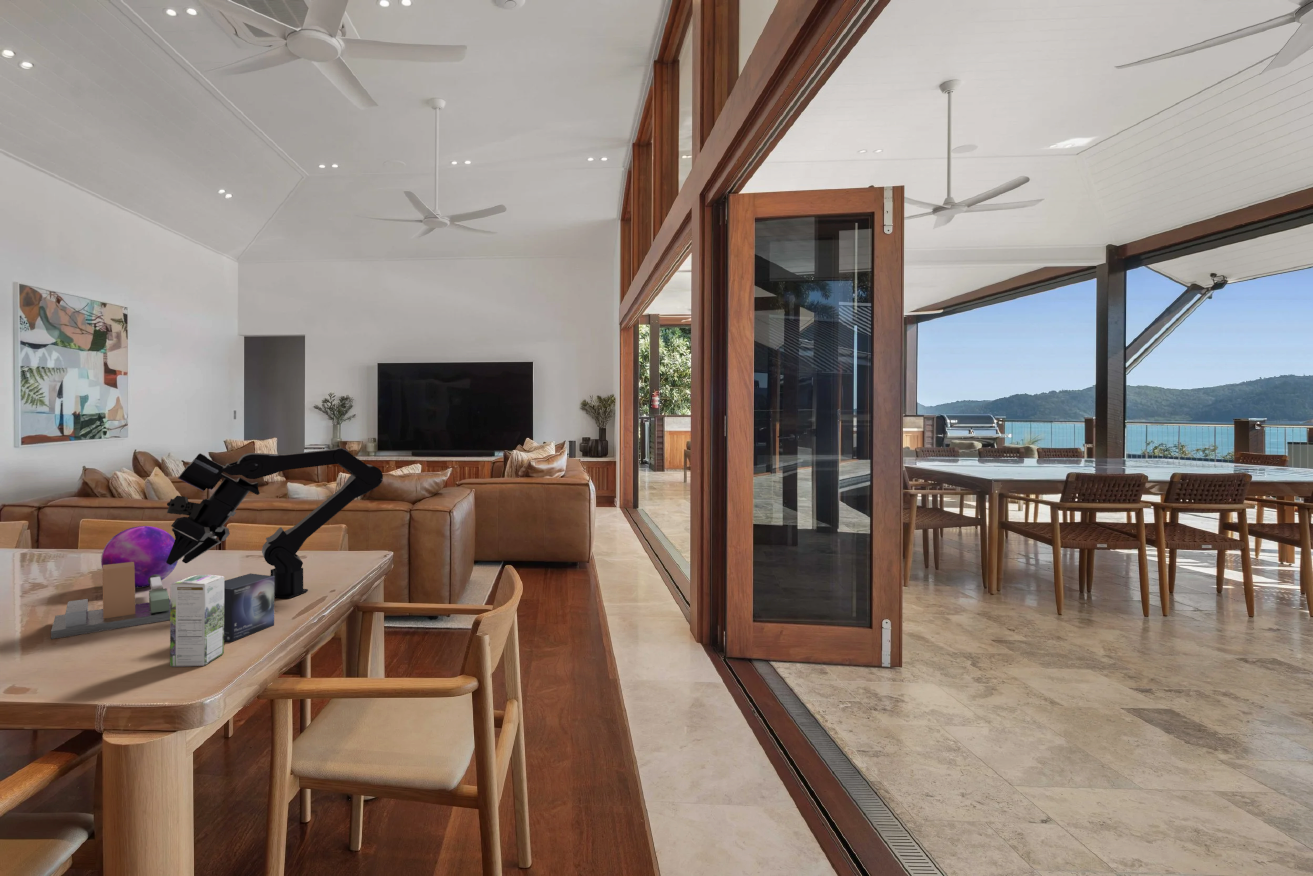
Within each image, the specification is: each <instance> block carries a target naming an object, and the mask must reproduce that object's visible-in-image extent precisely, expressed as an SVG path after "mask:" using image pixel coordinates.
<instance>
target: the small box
mask: <svg viewBox="0 0 1313 876" xmlns="http://www.w3.org/2000/svg"><path fill="white" fill-rule="evenodd" d="M274 577H275V576H270V575H268V574H266V575H265V574H259V573H258V574H257V573H251V572H250V573H247V574H243V575H239V576H237V577H233V578H229V579H226V580H225V579H224V642H228V643H233V642H235V641H238V640H240V639H242V638H246V637H248V636H250V635H252V634H253V635H254V634H256V633H257V632H260V631H263V630H265V629H268V628H270V627H273V626H275V597H274Z"/></svg>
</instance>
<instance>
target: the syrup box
mask: <svg viewBox="0 0 1313 876" xmlns="http://www.w3.org/2000/svg"><path fill="white" fill-rule="evenodd" d="M224 581H225V576H223V575H215V574H197V575H191V576H189V577H186V578H183V579H180V580H178V581H175V582H173V583H171V584H170V596H169V599H170V620H169V621H170V624H169V625H170V626H169V627H170V628H169V634H170V635H169V637H170V638H169V639H170V640H169V663H170V664H169V665H170V667H197V666H198V667H201V666H202V667H203V666H206V665H208V664H210V663H211V662H213V661H215V660H216V659H218V658H219V657H221V656H222V655H224V653H225V641H224Z"/></svg>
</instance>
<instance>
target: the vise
mask: <svg viewBox="0 0 1313 876" xmlns="http://www.w3.org/2000/svg"><path fill="white" fill-rule="evenodd" d="M169 605H170V598H169ZM166 621H170V610H168V611H161V612H155V613H151V609H150V603H149V602H148V601H147V602H141V603H135V614H131V615H125V616H118V617H111V618H105V619H103V608H100V609H99V608H98V609H93V610H89V599H88V598H86V599H78V600H70V601H67V605H66V609H65V613H64V614H59V615H58V614H57V615H54V620H53V623H52V627H51V630H50V639H51V640H52V639H58V638H59V639H60V638H66V637H67V638H68V637H70V636H71V637H72V636H79V635H85V634H90V633H97V632H102V631H110V630H116V629H122V628H127V627H129V628H130V627H134V626H141V625H147V624H152V623H159V622H166Z"/></svg>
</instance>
